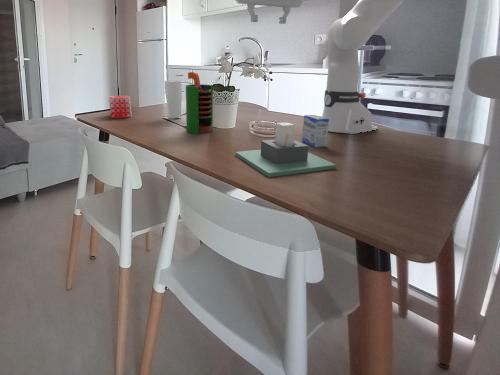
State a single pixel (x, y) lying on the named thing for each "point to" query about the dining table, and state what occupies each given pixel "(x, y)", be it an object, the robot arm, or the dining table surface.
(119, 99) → the puzzle cube
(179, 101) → the drinking glass
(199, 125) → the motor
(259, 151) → the socket board
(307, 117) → the medicine box
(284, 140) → the keyed plug
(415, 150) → the dining table surface
